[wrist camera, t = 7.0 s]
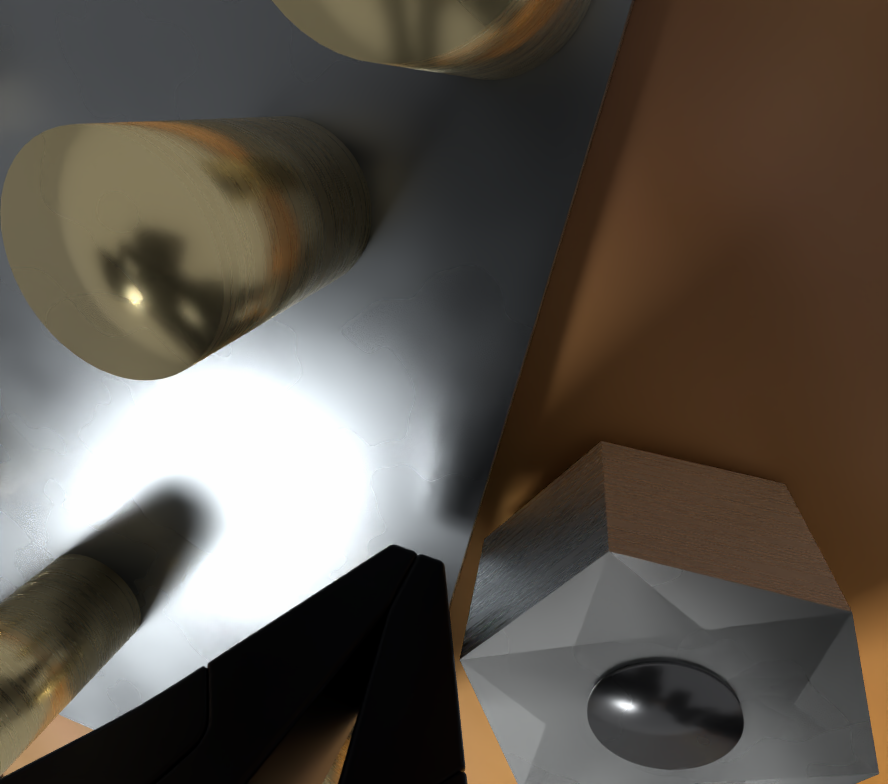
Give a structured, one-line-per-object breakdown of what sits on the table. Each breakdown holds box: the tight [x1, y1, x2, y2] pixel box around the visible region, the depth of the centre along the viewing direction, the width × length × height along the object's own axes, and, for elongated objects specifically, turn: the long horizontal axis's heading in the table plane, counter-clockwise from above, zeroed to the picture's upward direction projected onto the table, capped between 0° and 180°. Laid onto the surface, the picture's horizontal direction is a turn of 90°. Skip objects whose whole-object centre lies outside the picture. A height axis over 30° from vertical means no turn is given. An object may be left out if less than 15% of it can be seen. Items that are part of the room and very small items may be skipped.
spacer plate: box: [0, 0, 635, 784], centre depth 10 cm, size 14×18×4 cm
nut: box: [460, 441, 879, 784], centre depth 9 cm, size 5×4×2 cm
